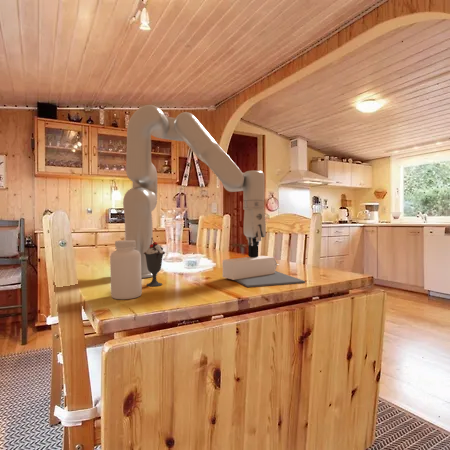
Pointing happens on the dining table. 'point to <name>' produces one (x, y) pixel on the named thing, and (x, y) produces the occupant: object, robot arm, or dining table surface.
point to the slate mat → (269, 280)
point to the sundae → (154, 261)
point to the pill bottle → (125, 270)
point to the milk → (248, 267)
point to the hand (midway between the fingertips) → (253, 256)
